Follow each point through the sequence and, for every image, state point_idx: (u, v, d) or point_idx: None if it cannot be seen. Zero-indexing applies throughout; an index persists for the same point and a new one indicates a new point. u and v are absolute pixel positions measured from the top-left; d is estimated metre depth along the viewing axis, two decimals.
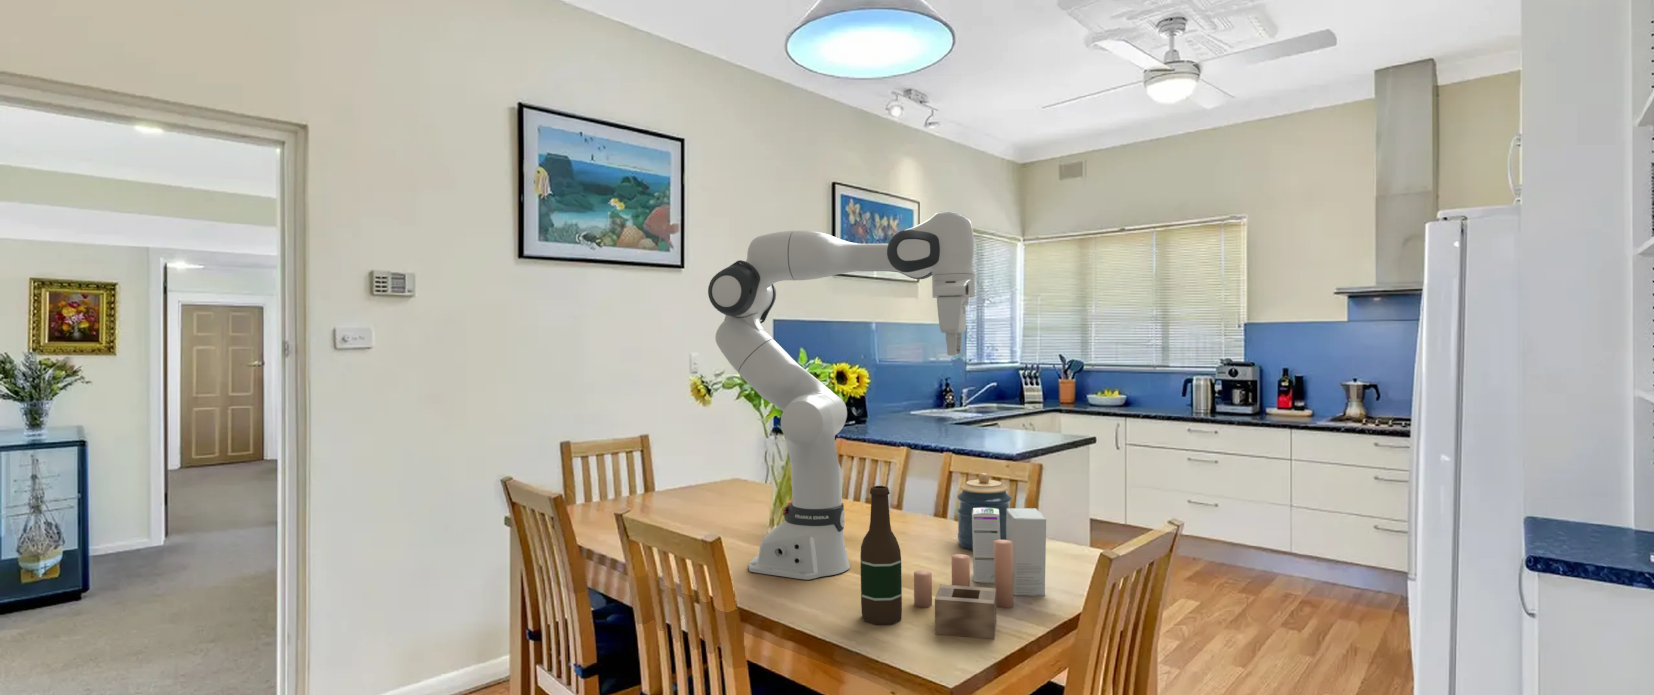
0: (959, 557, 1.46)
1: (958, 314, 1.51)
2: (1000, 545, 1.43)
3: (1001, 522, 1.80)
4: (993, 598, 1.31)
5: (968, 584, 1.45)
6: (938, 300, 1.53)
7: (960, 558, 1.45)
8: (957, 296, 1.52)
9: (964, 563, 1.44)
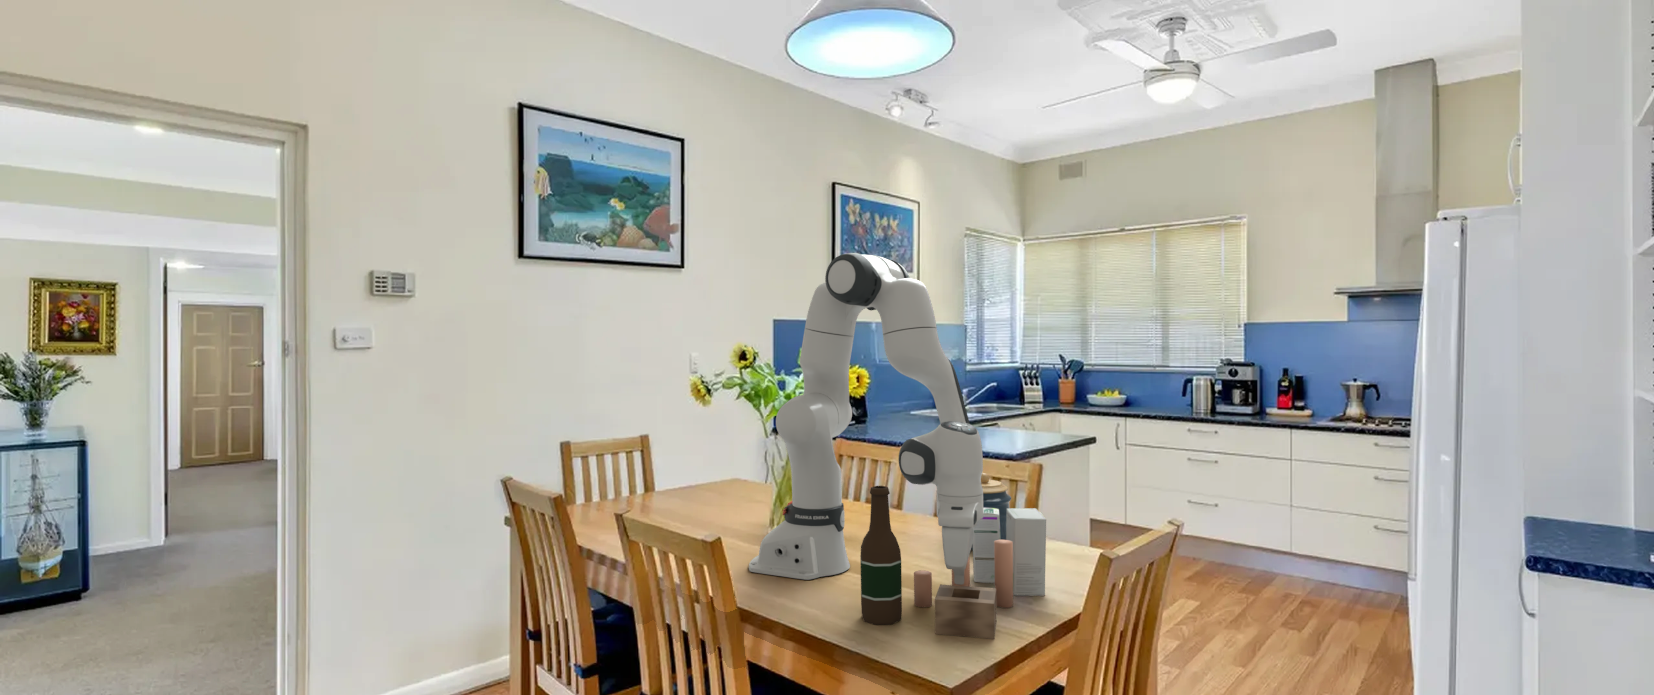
0: None
1: (965, 551, 1.36)
2: (1000, 545, 1.43)
3: (1001, 522, 1.80)
4: (993, 598, 1.31)
5: (968, 584, 1.45)
6: (943, 532, 1.38)
7: None
8: (964, 528, 1.37)
9: None
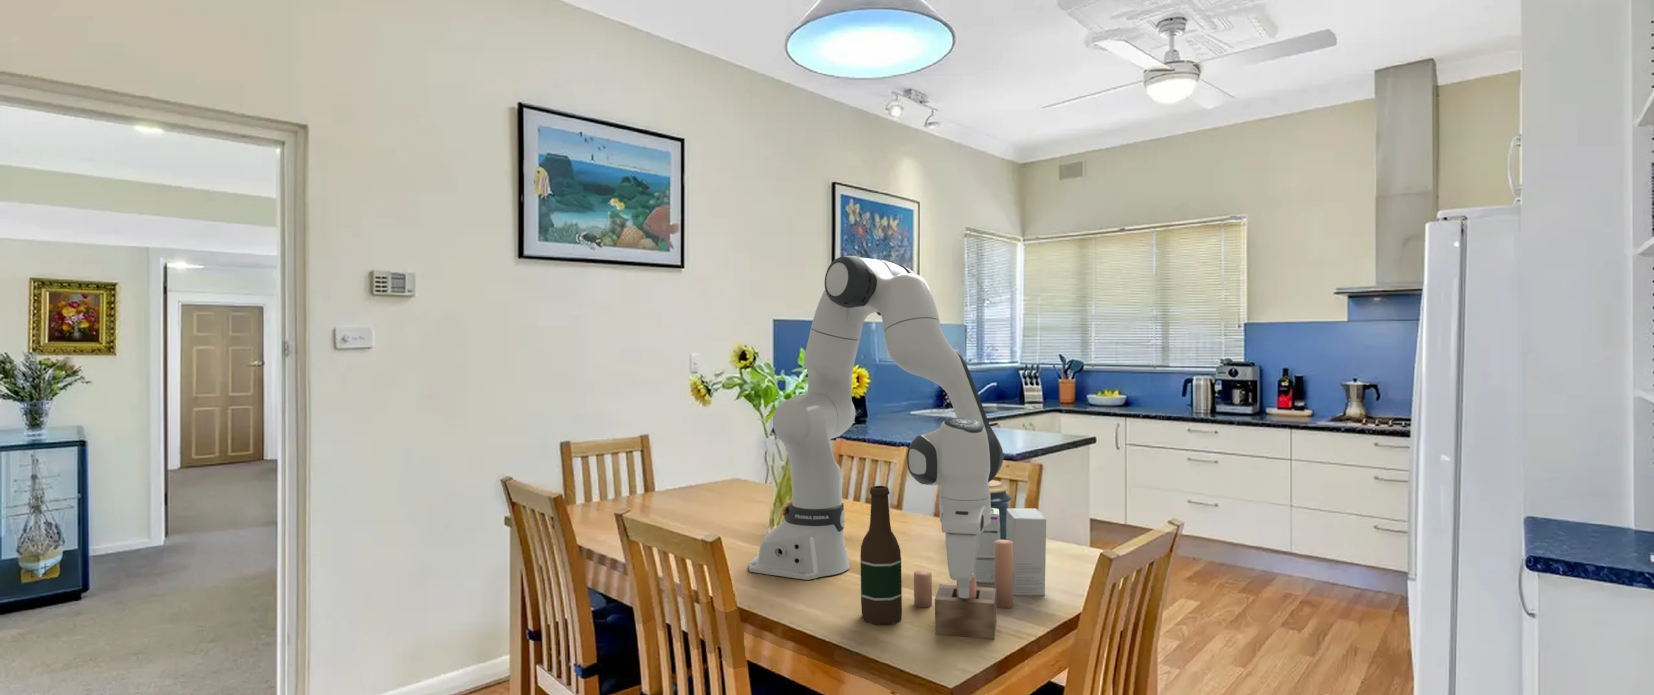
0: None
1: (972, 560, 1.24)
2: (1000, 545, 1.43)
3: (1001, 522, 1.80)
4: (993, 598, 1.31)
5: None
6: (947, 539, 1.25)
7: None
8: (970, 535, 1.25)
9: (970, 584, 1.32)
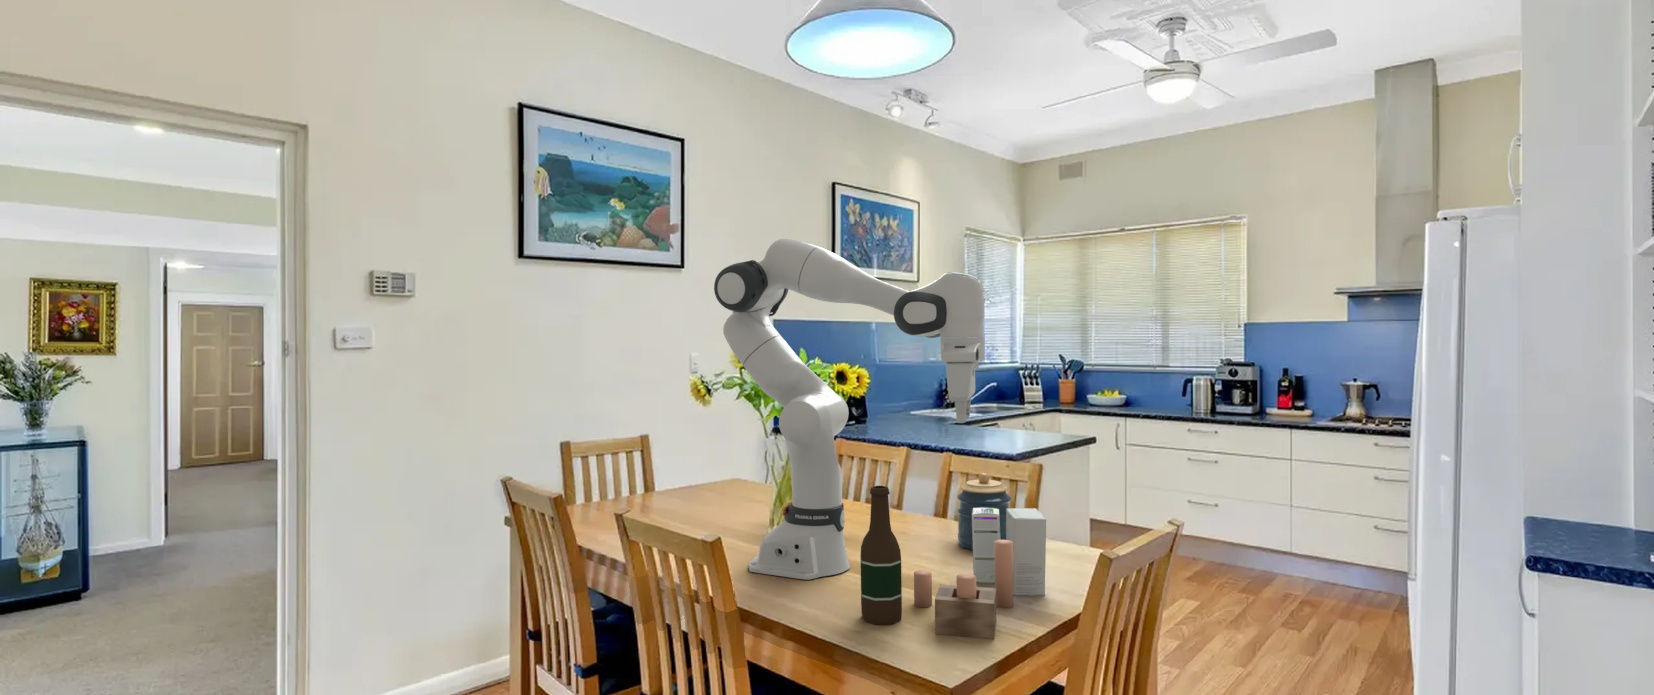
0: (965, 577, 1.33)
1: (968, 382, 1.45)
2: (1000, 545, 1.43)
3: (1001, 522, 1.80)
4: (993, 598, 1.31)
5: None
6: (947, 367, 1.47)
7: (966, 578, 1.33)
8: (967, 363, 1.47)
9: (970, 584, 1.32)
